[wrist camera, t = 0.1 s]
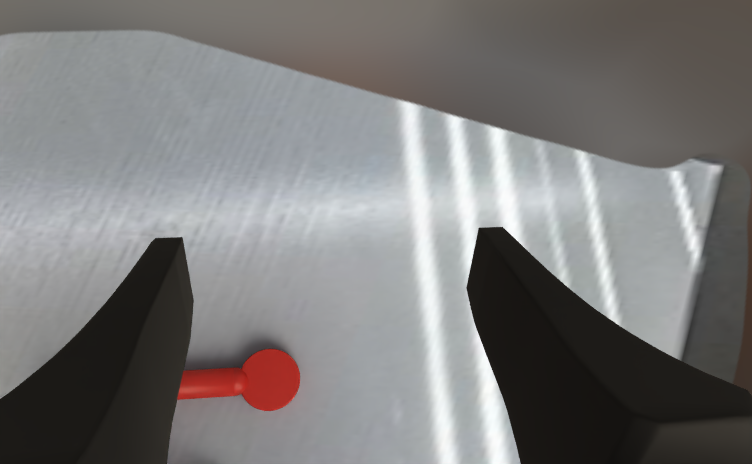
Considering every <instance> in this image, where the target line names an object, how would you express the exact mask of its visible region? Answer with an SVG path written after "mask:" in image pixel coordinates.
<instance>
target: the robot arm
mask: <svg viewBox="0 0 752 464" xmlns="http://www.w3.org/2000/svg"><path fill="white" fill-rule="evenodd" d="M467 292H468V297H469V301H470V306H471V310H472V314H473V318H474V322H475V325H476V328H477V331H478V333H479V336H480V339H481V341H482V344H483V347H484V349H485V352H486V355H487V357H488V360H489V362H490V365H491V368H492V370H493V373H494V375H495V378H496V381H497V383H498V386H499V388H500V391H501V394H502V396H503V399H504V402H505V405H506V408H507V411H508V415H509V419H510V423H511V426H512V430H513V434H514V438H515V442H516V445H517V449H518V454H519V458H520V462H521V464H752V395H751V394H750V393H749V391H748V390H746V389H743V388H741V387H738V386H736V385H734V384H731V383H729V382H726V381H724V380H722V379H719V378H717V377H714V376H712V375H710V374H707V373H705V372H703V371H700V370H698V369H696V368H694V367H692V366H690V365H688V364H686V363H684V362H682V361H680V360H678V359H676V358H674V357H672V356H670V355H668V354H666V353H664V352H662V351H661V350H659V349H657V348H655V347H653V346H652V345H650V344H648V343H647V342H645V341H643V340H641V339H640V338H638V337H636V336H635V335H633V334H631V333H630V332H628V331H626V330H625V329H623V328H622V327H620V326H619V325H617V324H616V323H614V322H613V321H611V320H610V319H609V318H607V317H606V316H604V315H603V314H601V313H600V312H598V311H597V310H596V309H594V308H593V307H592V306H590V305H589V304H588V303H586V302H585V301H584V300H583V299H581V298H580V297H579V296H578V295H576V294H575V293H574V292H573V291H571V290H570V289H569V288H568V287H567V286H565V285H564V284H563V283H562V282H561V281H560V280H558V279H557V278H556V277H555V276H554V275H553V274H552V273H551V272H549V271H548V270H547V269H546V268H545V267H544V266H543V265H542V264H541V263H540V262H539V261H538V260H536V259H535V258H534V257H533V256H532V255H531V254H530V253H529V252H528V251H527V250H526V249H525V248H524V247H523V246H522V245H521V244H520V243H519V242H518V241H517V240H516V239H515V238H514V237H512V236H511V235H510V234H509V233H508V232H507V231H506V230H505V229H504V228H503V227H490V228H479V230H478V235H477V240H476V244H475V249H474V254H473V259H472V264H471V269H470V274H469V278H468V283H467ZM193 302H194V300H193V294H192V289H191V283H190V277H189V272H188V266H187V260H186V255H185V249H184V243H183V238H182V237H177V238H155V239H154V240H153V241H152V242H151V243H150V245H149V246H148V248H147V249H146V251H145V252H144V253H143V255H142V256H141V258H140V259H139V261H138V262H137V263H136V265H135V266H134V267H133V269H132V270H131V271H130V273H129V274H128V275H127V277H126V278H125V279H124V281H123V282H122V283H121V284H120V286H119V287H118V288H117V289H116V291H115V292H114V293H113V294H112V296H111V297H110V298H109V299H108V300H107V302H106V303H105V304H104V305H103V306H102V307H101V309H100V310H99V311H98V312H97V313H96V314H95V315H94V316H93V317H92V319H91V320H90V321H89V322H88V323H87V324H86V325H85V326H84V327H83V328H82V329H81V330H80V331H79V333H78V334H77V335H76V336H75V337H74V338H73V339H72V340H71V341H70V342H69V343H67V344H66V345H65V346H64V347H63V348H62V349H61V350H60V351H59V352H58V353H57V354H56V355H55V356H54V357H52V358H51V359H50V360H49V361H48V362H47V363H46V364H44V365H43V366H42V367H41V368H40V369H38V370H37V371H36V372H35V373H33V374H32V375H31V376H30V377H29V378H27V379H26V380H25V381H24V382H22V383H21V384H20V385H19V386H17V387H16V388H15V389H13V390H12V391H11V392H9V393H8V394H7V395H5V396H4V397H2V398H1V399H0V464H167V458H168V448H169V439H170V433H171V427H172V421H173V416H174V412H175V407H176V403H177V398H178V393H179V389H180V384H181V380H182V375H183V371H184V366H185V361H186V357H187V352H188V347H189V342H190V337H191V326H192V314H193Z"/></svg>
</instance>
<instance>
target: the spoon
mask: <svg viewBox="0 0 752 464" xmlns="http://www.w3.org/2000/svg"><path fill="white" fill-rule="evenodd" d="M299 384H300V372H299V368H298V366H297V364H296V362H295V361H294V359H293V358H292V357H291V356H290V355H288V354H287V353H285V352H283V351H281V350H278V349H264V350H261V351H258V352H256V353H254V354H253V355H252V356H250V357H249V358H248V359H247V360H246V362H245V363H244V365H243V366H242V368H241V369H240V368H219V369H202V370H185V371H183V375H182V380H181V384H180V389H179V393H178V398H177V400H180V399H195V398H210V397H226V396H237V395H240V394H242V396H243V397H244V399H245V400H246V401H247V402H248V403H249V404H250V405H251V406H253V407H254V408H257V409H259V410H264V411H273V410H277V409H280V408H282V407H284V406H286V405H287V404H288V403H289V402H290V401H291V400H292V399H293V398H294V397H295V395H296V393H297V391H298V388H299Z"/></svg>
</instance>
